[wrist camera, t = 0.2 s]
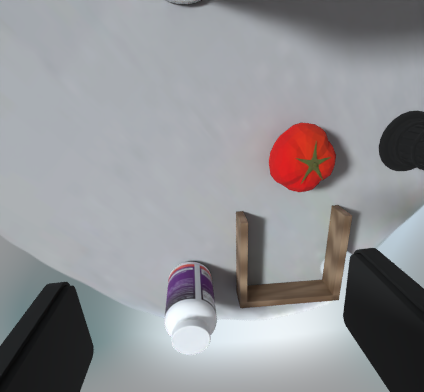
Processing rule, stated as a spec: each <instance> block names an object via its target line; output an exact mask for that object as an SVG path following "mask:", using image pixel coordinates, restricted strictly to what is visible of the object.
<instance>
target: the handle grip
mask: <svg viewBox="0 0 424 392" xmlns="http://www.w3.org/2000/svg"><path fill="white" fill-rule="evenodd" d="M379 155H380V157H381V160H382V162H383V163H384V164H385V166H387V167H388V168H390V169H392V170H395V171H407V170H412V169H414V168H416V167H418V168H419V169H422V170H424V112H422V111H409V112H407V113H404V114H401V115H400V116H398V117H397V118H395V119H394V120H393V121H392V122H391V123H390V124H389V125H388V126H387V128H386V129H385V131H384V132H383V134H382V137H381V139H380V144H379Z"/></svg>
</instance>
